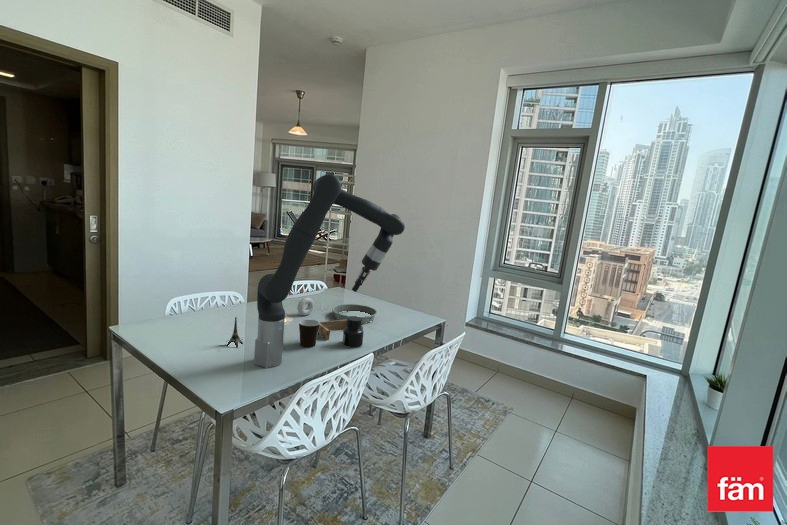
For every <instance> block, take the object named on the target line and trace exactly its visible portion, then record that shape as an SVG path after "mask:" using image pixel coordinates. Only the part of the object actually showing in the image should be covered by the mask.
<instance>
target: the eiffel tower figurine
mask: <svg viewBox="0 0 787 525" xmlns="http://www.w3.org/2000/svg"><path fill="white" fill-rule="evenodd" d="M237 319H238V317H237V316H235V317H234V325H233V327H234V328H233V332H232V336H231V337H230V339H229V340H228V341H229V342H228V344H227V345H225V346H228V345H229V344H230V343H231V342H234V343H235V345H236V348H235V349H239V348H238V343H241V344H243V343H244V341H243V340H242V339H241V337H239V332H238V325H237V323H238V321H237ZM240 339H241V340H240ZM243 345H244V344H243Z"/></svg>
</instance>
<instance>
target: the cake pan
mask: <svg viewBox="0 0 787 525" xmlns="http://www.w3.org/2000/svg"><path fill="white" fill-rule="evenodd" d="M342 311H360V312H365V313H368V314H370V315H371V316H365V317H360V318H362V323H365V324H367V323H366V322H370V321H372V320H373V321H374V319H375V316H376V315H378V310H376V309H375V307H374V308H373V307H371V306H368V305H363V304H357V303H356V304H355V303H343V304H338V305H335V306H333V307H332V312H333V313H334V317H336V318H337V319H336V318H335V319H336V320H345V319H347V317H350V316H347V315H346V314H341V313H339V312H342ZM342 313H343V312H342ZM373 321H372V322H373ZM370 323H371V322H370Z"/></svg>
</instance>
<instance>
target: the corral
mask: <svg viewBox="0 0 787 525" xmlns="http://www.w3.org/2000/svg"><path fill="white" fill-rule="evenodd" d="M319 322H320V324H319V329H318V333H319V334H318V335H319V336H321V338H323V337H324V338H325V339H324V338H323V339H324V340H325V341H329V340H330V334H331V331H330V330H332V331H339V329H341V330H344V329H345V328H346V327H347V326H346V324H347V319H345V320H338V319H336V320H335V319H334V320H326V321H319ZM361 328H362V329H363V330H364V326H363V325H362V327H361Z"/></svg>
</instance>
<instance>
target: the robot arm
mask: <svg viewBox="0 0 787 525" xmlns="http://www.w3.org/2000/svg"><path fill="white" fill-rule="evenodd" d="M312 191H313V195H312V197H311V199H310V201H309V203H308V205H307V206H306V208H305V209H304V210H303V211H302V212H301V213H300V215H299V216H298V218H297V219H296V221H295V222H294V223H293V225H292V227H291V229H290V231H289V232H288V235H287V236H286V239H285V242H284V246H283V251H282V257H281V260H280V264H279V265H278V267H277V269H276V270H275V272H274V273H268V274H265V275H263V276H262V277H261V278H260V279H259V282H258V284H257V299H256V300H257V302H256V303H257V304H256V305H257V308H256V309H257V314H258V316H257V318H258V320H257V322H258V324H257V338H255V340H254V355H253V356H254V357H253V364H254V365H257V366H259V367H262V368H265V369H267V368H271V367H277V366H280V365H281V364H282V362H283V352H284V349H283V347H284V334H285V318H286V317H285V316H286V311H285V308H284V305H283V301H285V300H286V299H287V297H288V296H289V294H290V292H291V290H292V287H293V284H294V283H295V280H296V277H297V274H298V272H299V270H300V269H301V266H302V264H303V263H304V261H305V259H306V257H307V255H308V252H309V251H310V249H311V248H312V246H313V244H314V242H315V240H316V237H317V236H318V234H319V231H320V230H321V227H322V225H323V223H324V220H325V219H326V216H327V214H328V212H329V211H330V209H331V207H332V206H333V204H334V205H337V206H339V207H342V208H343V209H347V210H348V211H350V212H352V213H354V214H356V215H358V216H360V217H361V218H363V219H365V220H367V221H369V222H371V223H373V224H375V225H377V226H378V227H380V229H379V233H378V235H377V237H376V238H375V239H374V241H373V242H372V244H371V245H370V247H369V249H368V250H367V251H366V253H365V255H364V256H363V258H362V259H361V263H362V267H361V268H360V271H359V274H358V276H357V278H356V280H355V282H354V285H353V287H352V289H351V290H352V291H353V292H354V293H356V292H358V290H359V288H360V287H361V286H362V285H363V283H364V282H365V281H366V280H367V277H369V275H370V274H371V271H377V270H378V268H379V267H380V265H381V264H382V262H383V260H384V259H385V257H386V255H387V253H388V251H389V250H390V248H391V246H392V245H393V238H394V236H399V235H402V234H403V232H404V231H405V229H406V228H405V223H404V221H403V219H402V218H401V217H400V216H399V215H398V214H395V213H392V214H391V213H389V212H387V211H386V210H385V209H384V208H383V207H381V206H379V205H378V204H376V203H374V202H372V201H370V200H368V199H366V198H362V197H359V196H357V195H355V194H353V193H350V192H347V191H346V190H344V189H343V188H342V183H341V180H340V178H339V177H338V176H336V175H335V174H330V173H329V174H328V173H327V174H324V175H322V176H319V177H318V178H317V179H315V181H314V182H313V184H312Z"/></svg>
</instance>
